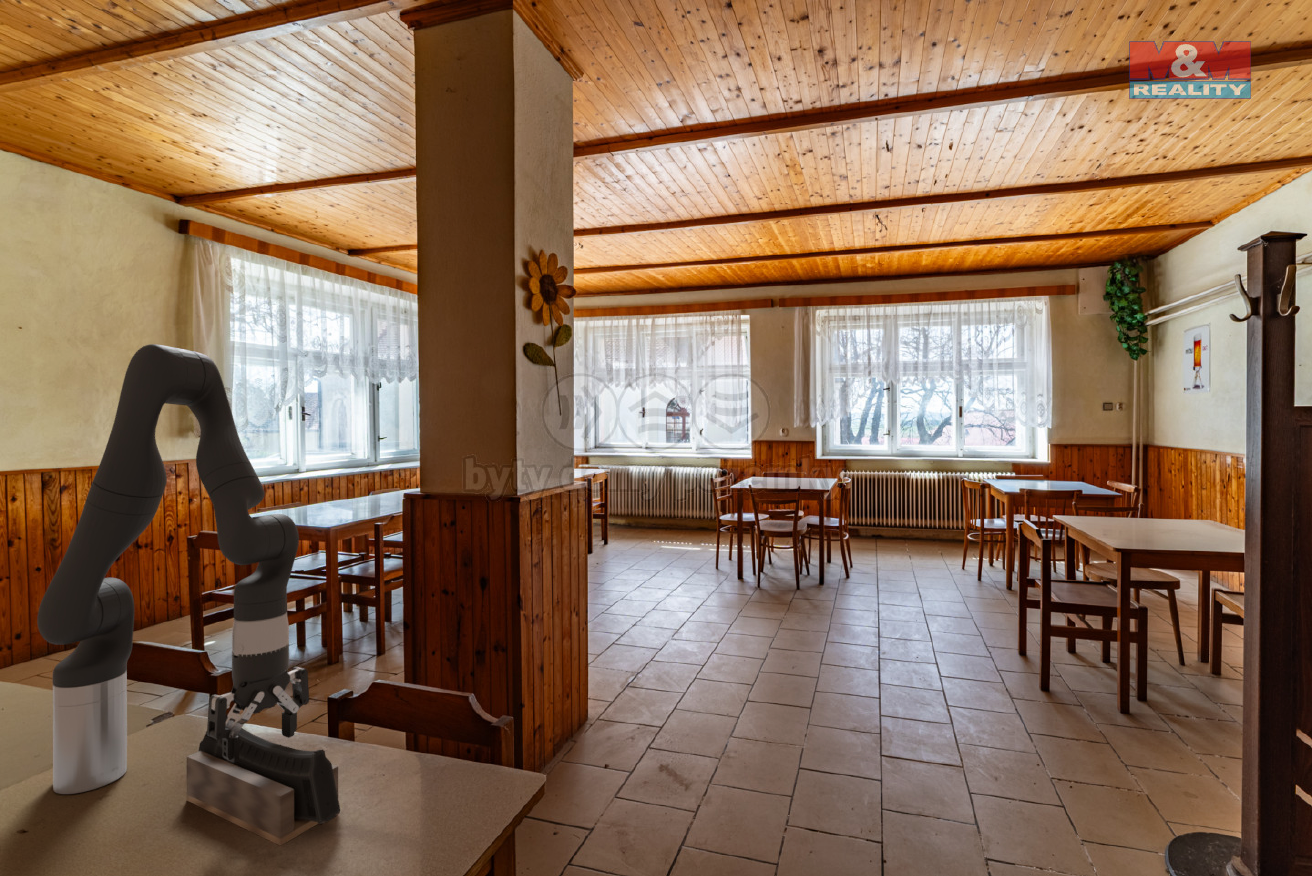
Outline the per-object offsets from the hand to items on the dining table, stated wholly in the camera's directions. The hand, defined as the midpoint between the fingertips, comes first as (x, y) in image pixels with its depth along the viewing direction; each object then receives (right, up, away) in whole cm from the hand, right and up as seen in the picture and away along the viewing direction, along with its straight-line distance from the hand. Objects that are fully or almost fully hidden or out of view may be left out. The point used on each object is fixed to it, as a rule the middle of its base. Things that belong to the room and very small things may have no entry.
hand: (261, 747), depth 98 cm
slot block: (0, -9, 0) cm, 9 cm away
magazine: (+1, -8, 0) cm, 8 cm away
